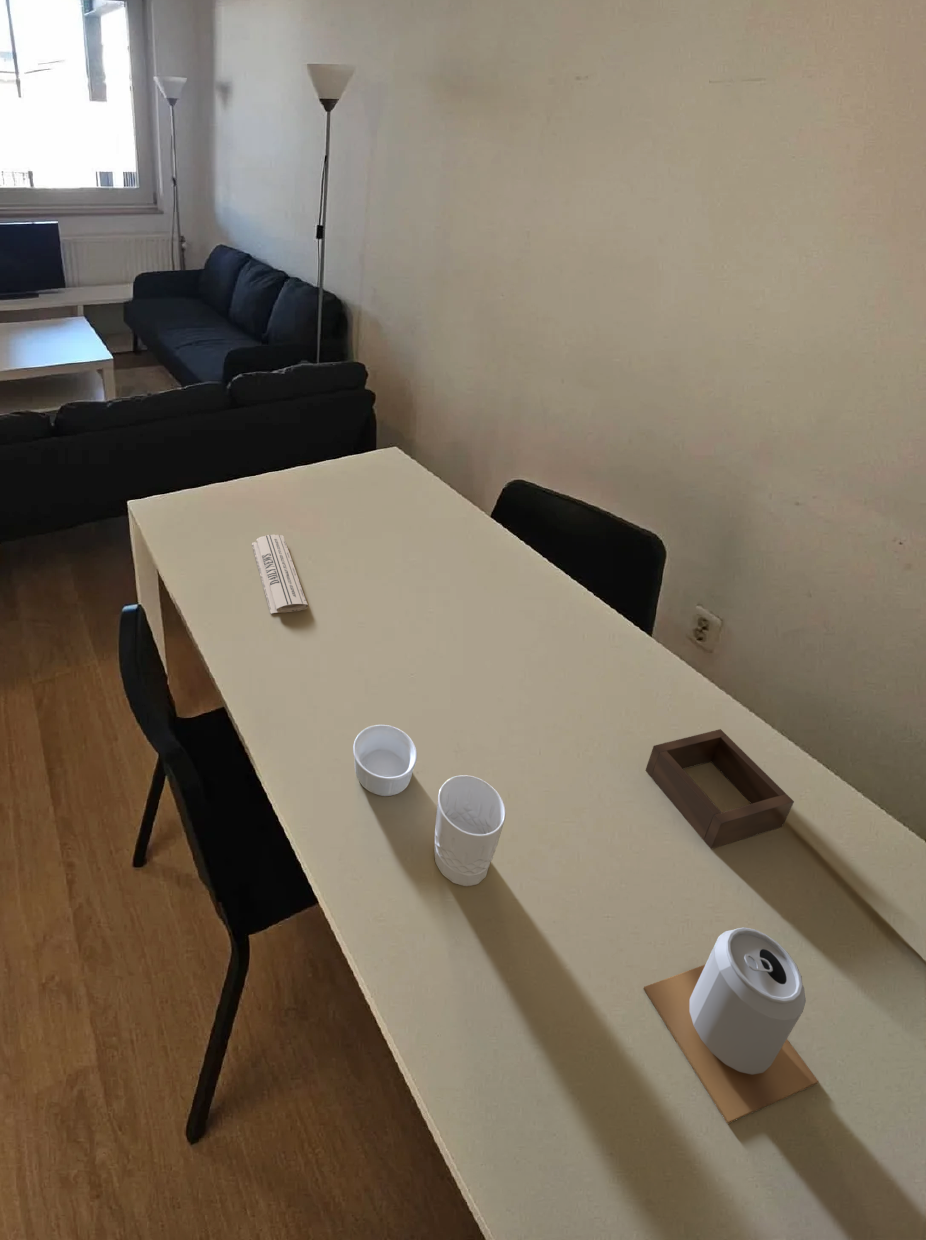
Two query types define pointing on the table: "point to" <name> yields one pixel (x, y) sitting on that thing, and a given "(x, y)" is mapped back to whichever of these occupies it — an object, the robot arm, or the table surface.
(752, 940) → the can
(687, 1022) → the coaster
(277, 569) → the newspaper
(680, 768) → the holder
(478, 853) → the white cup
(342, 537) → the table surface
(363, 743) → the ramekin
